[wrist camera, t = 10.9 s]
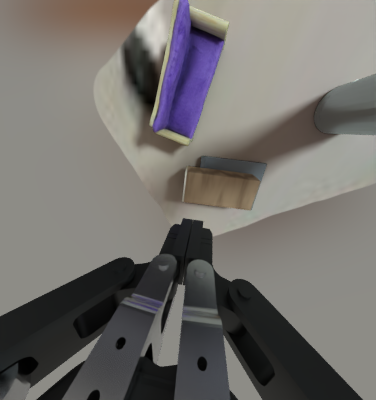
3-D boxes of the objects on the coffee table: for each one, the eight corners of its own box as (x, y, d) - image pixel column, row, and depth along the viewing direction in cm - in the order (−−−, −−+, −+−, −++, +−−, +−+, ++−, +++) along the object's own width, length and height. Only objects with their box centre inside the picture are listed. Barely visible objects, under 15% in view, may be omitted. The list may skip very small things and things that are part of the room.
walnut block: (186, 165, 40) (252, 174, 40) (183, 192, 43) (243, 200, 43) (185, 171, 34) (260, 181, 34) (182, 201, 38) (250, 210, 38)
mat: (266, 163, 39) (268, 165, 37) (251, 209, 45) (252, 212, 43) (201, 155, 40) (201, 156, 38) (195, 200, 46) (195, 203, 45)
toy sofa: (191, 144, 39) (185, 149, 30) (161, 132, 39) (146, 133, 30) (227, 42, 30) (234, 4, 21) (187, 26, 30) (177, -20, 21)
